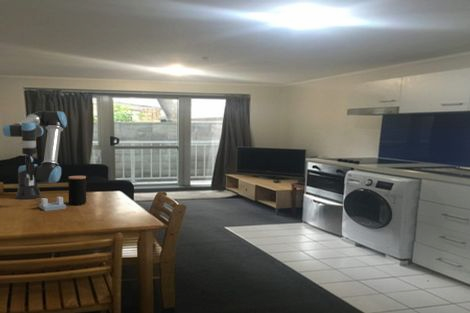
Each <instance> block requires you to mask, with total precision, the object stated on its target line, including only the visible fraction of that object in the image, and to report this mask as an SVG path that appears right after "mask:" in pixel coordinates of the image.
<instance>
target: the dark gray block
mask: <svg viewBox="0 0 470 313" xmlns="http://www.w3.org/2000/svg"><path fill="white" fill-rule="evenodd" d="M25 186H29V180H28V177H26V178H25ZM31 186H35V178H34V185H31Z"/></svg>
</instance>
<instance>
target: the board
mask: <svg viewBox="0 0 470 313" xmlns="http://www.w3.org/2000/svg"><path fill="white" fill-rule="evenodd" d="M40 199H41V203H39V204H38V208H40V209H41V210H43V211H45V212H46V211H57V210H58V211H59V210H64V209H67V205H66V204H65V203H64V197H63V196H56V201H54V202H49V199H48V198H47V197H45V198H44V197H43V198H41V197H40Z"/></svg>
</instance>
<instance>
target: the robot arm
mask: <svg viewBox="0 0 470 313" xmlns="http://www.w3.org/2000/svg"><path fill="white" fill-rule="evenodd" d="M67 124H68V121H67V114H66V113H65V112H64V111H59V110H55V111H54V110H52V111H51V110H40V111H36V112H33V113H30V114H28V115H27V116H26V117H25V118H23V119H21V120H20V121H17V122H15V123H13V124H5V125H3V127H2V134H3V136H4V137H7V138H8V137H10V138H14V137H15V138H20V137H21V141H20V142H21V143H20V144H21V147H22V148H21V149H22V150H21V151H22V154H23V155H26V156H24V159H25V160H24V161H25V164H24V165H20V166H18V172H17V174H18V176H17V178H18V189H17V192H16V194H15V199H17V200H33V199H39V198H41V195H42V194H41V192H40V188H39V186H38V185H39V183H41V184H42V183H46V184H52V183H57V182H59V181H60V179H61V176H62V167H61V166H60V164H59V163H58V157H59V147H60V143H61V140H60V139H61V132H63V131H64V128H66V127H67V126H68V125H67ZM44 127H45V129H46V130H47V134H46V141H45V149H44V157H43V161H42V162H41V163H40V165H38V164H37V163H35V157H34V156H33V155H35V154H37V148H36V147H37V138H39V137H41V136H43V134H44ZM26 177H28V180H29V186H25V178H26ZM34 178H35V186H31V185H34Z"/></svg>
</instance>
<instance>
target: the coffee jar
mask: <svg viewBox="0 0 470 313" xmlns="http://www.w3.org/2000/svg"><path fill="white" fill-rule="evenodd" d="M86 178H87V175H71V176H68V204H69V205H70V206H83V205H86V203H87V179H86Z"/></svg>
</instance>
